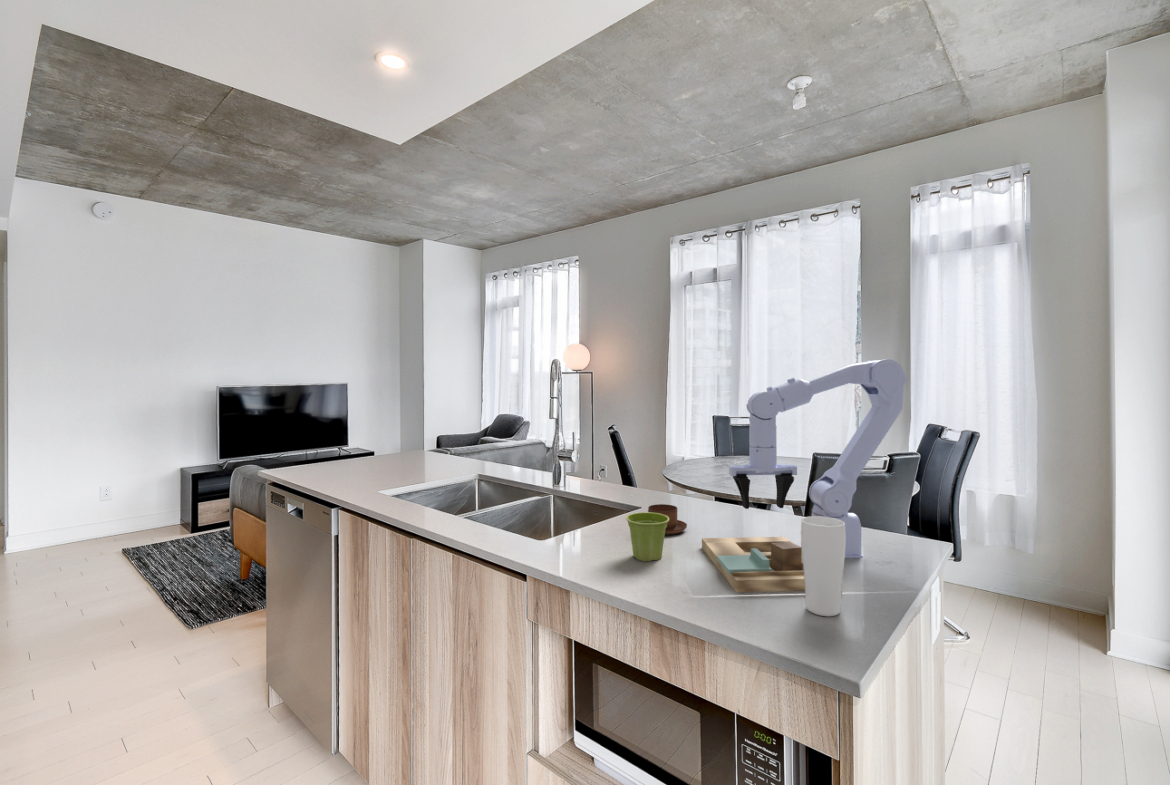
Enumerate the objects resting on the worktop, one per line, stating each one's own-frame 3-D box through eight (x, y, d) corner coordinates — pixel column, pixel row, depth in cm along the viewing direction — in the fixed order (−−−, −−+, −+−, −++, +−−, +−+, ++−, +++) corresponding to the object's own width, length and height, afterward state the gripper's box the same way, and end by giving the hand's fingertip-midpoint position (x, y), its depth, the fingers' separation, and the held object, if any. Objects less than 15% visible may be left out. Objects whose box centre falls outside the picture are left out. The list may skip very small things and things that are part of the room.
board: (784, 547, 125) (784, 534, 125) (840, 591, 99) (840, 574, 99) (701, 548, 125) (701, 535, 125) (736, 593, 99) (736, 577, 99)
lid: (756, 558, 110) (756, 547, 110) (771, 573, 102) (771, 560, 102) (717, 559, 110) (717, 548, 110) (728, 573, 102) (728, 561, 102)
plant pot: (674, 553, 122) (674, 514, 121) (662, 566, 113) (662, 525, 113) (634, 548, 126) (634, 510, 125) (619, 561, 117) (619, 520, 117)
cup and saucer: (629, 532, 139) (629, 508, 139) (656, 522, 148) (655, 500, 148) (670, 541, 131) (670, 515, 131) (695, 530, 140) (695, 506, 140)
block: (789, 571, 109) (789, 541, 109) (801, 578, 105) (801, 547, 105) (771, 573, 108) (770, 542, 108) (782, 580, 104) (782, 549, 104)
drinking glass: (793, 603, 94) (793, 516, 94) (831, 601, 95) (831, 515, 94) (813, 620, 87) (813, 527, 87) (854, 618, 88) (854, 525, 88)
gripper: (788, 443, 126) (788, 502, 126) (725, 444, 125) (725, 503, 126) (801, 447, 119) (801, 510, 119) (734, 448, 118) (734, 511, 119)
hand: (763, 507), depth 122 cm, fingers open, 7 cm apart
